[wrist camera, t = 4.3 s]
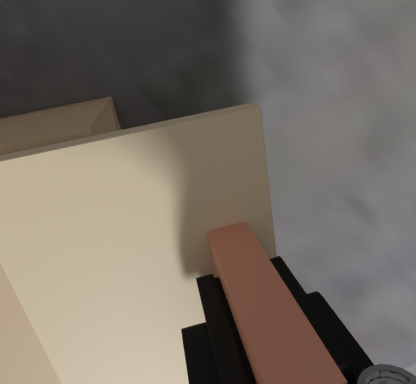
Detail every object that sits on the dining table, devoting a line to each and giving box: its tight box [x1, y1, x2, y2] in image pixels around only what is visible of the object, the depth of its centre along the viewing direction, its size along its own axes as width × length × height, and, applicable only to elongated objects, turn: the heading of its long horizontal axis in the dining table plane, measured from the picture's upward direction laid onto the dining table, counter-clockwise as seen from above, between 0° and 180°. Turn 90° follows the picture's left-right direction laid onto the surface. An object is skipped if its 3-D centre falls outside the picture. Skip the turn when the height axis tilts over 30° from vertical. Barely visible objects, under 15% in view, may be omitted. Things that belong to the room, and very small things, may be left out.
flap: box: [0, 103, 347, 384], centre depth 9 cm, size 8×12×6 cm
